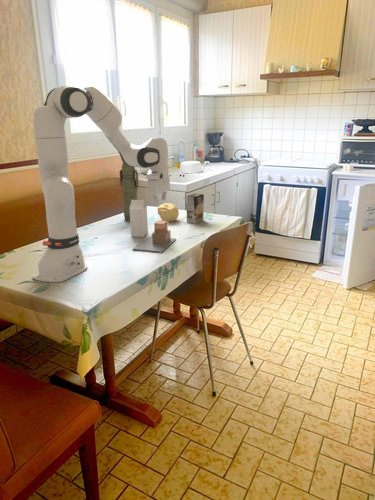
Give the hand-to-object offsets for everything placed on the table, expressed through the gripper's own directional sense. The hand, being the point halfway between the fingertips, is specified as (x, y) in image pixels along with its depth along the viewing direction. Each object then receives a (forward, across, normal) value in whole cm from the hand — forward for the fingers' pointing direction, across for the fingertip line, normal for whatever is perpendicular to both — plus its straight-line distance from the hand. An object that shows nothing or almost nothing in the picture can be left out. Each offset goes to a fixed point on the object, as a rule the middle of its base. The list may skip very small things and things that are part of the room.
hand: (160, 202), depth 182 cm
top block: (+15, 0, 0) cm, 15 cm away
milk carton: (+21, -9, -16) cm, 28 cm away
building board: (+21, +4, -2) cm, 21 cm away
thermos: (+21, -37, -34) cm, 54 cm away
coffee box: (+21, -43, +5) cm, 48 cm away
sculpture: (+21, -41, -11) cm, 47 cm away
